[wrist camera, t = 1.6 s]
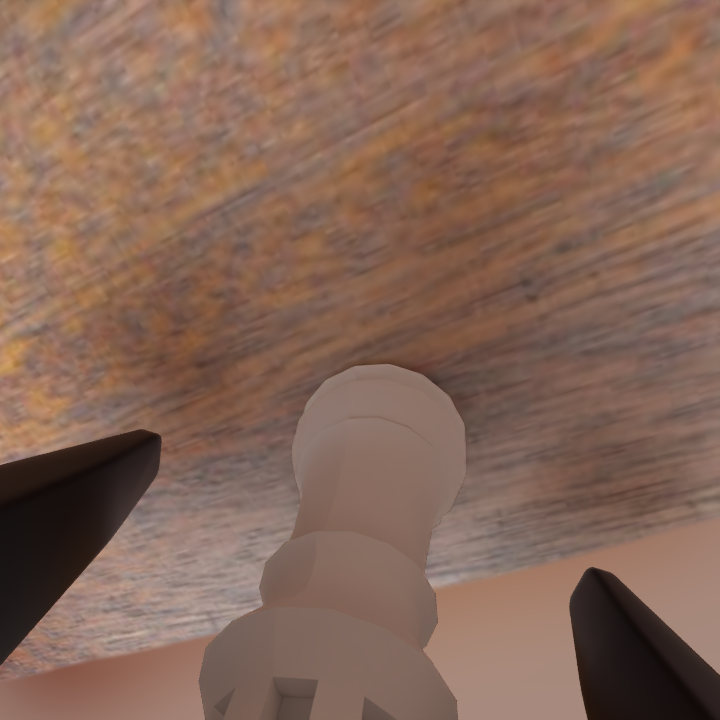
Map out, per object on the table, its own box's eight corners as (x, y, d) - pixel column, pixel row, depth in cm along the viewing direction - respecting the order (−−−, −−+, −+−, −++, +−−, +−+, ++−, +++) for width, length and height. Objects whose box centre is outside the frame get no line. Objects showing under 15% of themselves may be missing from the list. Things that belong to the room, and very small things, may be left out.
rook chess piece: (280, 380, 12) (25, 669, 4) (441, 337, 11) (467, 623, 3) (333, 513, 13) (203, 921, 6) (483, 486, 12) (571, 946, 4)
